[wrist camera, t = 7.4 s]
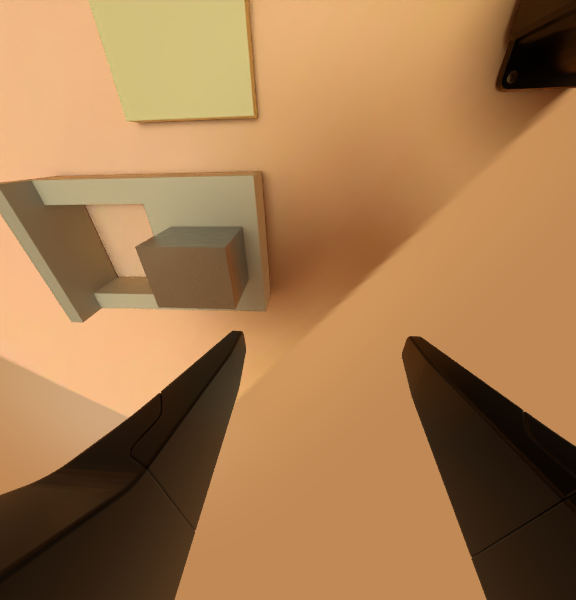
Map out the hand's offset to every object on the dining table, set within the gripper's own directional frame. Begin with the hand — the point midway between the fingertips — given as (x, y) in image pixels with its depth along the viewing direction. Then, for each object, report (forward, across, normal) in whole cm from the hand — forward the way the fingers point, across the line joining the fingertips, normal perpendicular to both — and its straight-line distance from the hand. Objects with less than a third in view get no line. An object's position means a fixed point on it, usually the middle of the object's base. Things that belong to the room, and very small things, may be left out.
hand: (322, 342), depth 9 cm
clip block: (+9, +8, 0) cm, 12 cm away
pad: (+12, +8, -12) cm, 19 cm away
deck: (+12, +11, 0) cm, 16 cm away
